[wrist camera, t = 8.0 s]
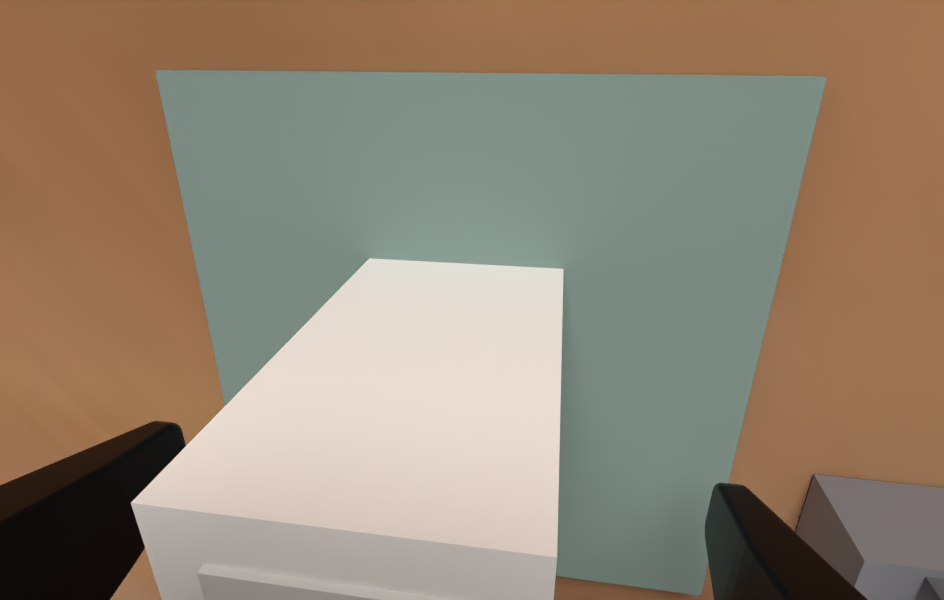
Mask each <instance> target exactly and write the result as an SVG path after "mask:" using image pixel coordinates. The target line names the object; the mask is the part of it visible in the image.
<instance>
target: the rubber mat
mask: <svg viewBox="0 0 944 600" xmlns="http://www.w3.org/2000/svg"><path fill="white" fill-rule="evenodd" d="M155 72H156V77H157V82H158V86H159V91H160V96H161V101H162V106H163V110H164V115H165V120H166V125H167V130H168V134H169V139H170V144H171V149H172V154H173V158H174V163H175V168H176V173H177V178H178V182H179V187H180V192H181V197H182V201H183V206H184V211H185V216H186V221H187V225H188V230H189V235H190V240H191V245H192V249H193V254H194V259H195V264H196V269H197V273H198V278H199V283H200V288H201V293H202V297H203V302H204V307H205V312H206V316H207V321H208V326H209V331H210V336H211V340H212V345H213V350H214V355H215V360H216V364H217V369H218V374H219V379H220V384H221V388H222V393H223V398H224V403H225V406H226V405H227V404H228V403H229V402H230V401H231V400H232V399H233V398H234V397H235V396H236V394H237V393H238V392H239V391H240V390H241V389H242V388H243V387H244V386H245V385H246V384H247V383H248V382H249V381H250V380H251V379H252V378H253V377H254V376H255V375H256V374H257V373H258V372H259V371H260V370H261V369H262V368H263V367H264V366H265V365H266V364H267V363H268V362H269V361H270V360H271V359H272V358H273V357H274V356H275V355H276V354H277V352H278V351H279V350H280V349H281V348H282V347H283V346H284V345H285V344H286V343H287V342H288V341H289V340H290V339H291V338H292V337H293V336H294V335H295V334H296V333H297V332H298V331H299V330H300V329H301V328H302V327H303V326H304V325H305V324H306V323H307V322H308V321H309V320H310V319H311V318H312V317H313V316H314V315H315V314H316V313H317V312H318V311H319V309H320V308H321V307H322V306H323V305H324V304H325V303H326V302H327V301H328V300H329V299H330V298H331V297H332V296H333V295H334V294H335V293H336V292H337V291H338V290H339V289H340V288H341V287H342V286H343V285H344V284H345V283H346V282H347V281H348V280H349V279H350V278H351V277H352V276H353V275H354V274H355V273H356V272H357V271H358V270H359V269H360V267H361V266H362V265H363V264H364V263H365V262H366V261H367V260H368V259H369V258H372V259H390V260H409V261H427V262H446V263H464V264H483V265H501V266H520V267H538V268H557V269H564V272H563V317H562V361H561V406H560V451H559V496H558V541H557V565H556V576H559V577H567V578H574V579H581V580H589V581H596V582H603V583H611V584H618V585H625V586H633V587H640V588H648V589H655V590H662V591H670V592H677V593H684V594H692V595H699V596H701V593H702V589H703V585H704V581H705V577H706V572H707V568H708V564H709V562H708V555H707V549H706V542H705V521H706V516H707V512H708V508H709V503H710V499H711V495H712V491H713V488H714V486H715V484H717V483H728V482H729V478H730V474H731V470H732V466H733V461H734V457H735V453H736V449H737V445H738V441H739V437H740V433H741V429H742V424H743V420H744V416H745V412H746V408H747V404H748V400H749V396H750V392H751V387H752V383H753V379H754V375H755V371H756V367H757V363H758V359H759V355H760V350H761V346H762V342H763V338H764V334H765V330H766V326H767V322H768V318H769V313H770V309H771V305H772V301H773V297H774V293H775V289H776V285H777V280H778V276H779V272H780V268H781V264H782V260H783V256H784V252H785V248H786V243H787V239H788V235H789V231H790V227H791V223H792V219H793V215H794V211H795V206H796V202H797V198H798V194H799V190H800V186H801V182H802V178H803V174H804V169H805V165H806V161H807V157H808V153H809V149H810V145H811V141H812V137H813V132H814V128H815V124H816V120H817V116H818V112H819V108H820V104H821V100H822V95H823V91H824V87H825V83H826V79H827V77H817V76H750V75H644V74H538V73H433V72H327V71H221V70H164V71H155Z"/></svg>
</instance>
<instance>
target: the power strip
mask: <svg viewBox="0 0 944 600" xmlns="http://www.w3.org/2000/svg"><path fill="white" fill-rule="evenodd" d="M796 533H797V534H798V535H799V536H800V537H801V538H802V539H803V540H804V541H805V542H806V543H807V544H809V545H810V546H811V547H812V548H813V549H814V550H815V551H816V552H817V553H818V554H819V555H820V556H822V557H823V558H824V559H825V560H826V561H827V562H828V563H829V564H830V565H831V566H832V567H833V568H834V569H836V570H837V571H838V572H839V573H840V574H841V575H842V576H843V577H844V578H845V579H846V580H847V581H848V582H850V583H851V584H852V585H853V586H854V587H855V588H856V589H857V590H858V591H859V592H860V593H861V594H863V595H864V596H865V597H866V598H867V599H868V600H944V488H941V487H931V486H921V485H912V484H902V483H892V482H883V481H873V480H863V479H854V478H844V477H834V476H825V475H815V474H814V476H813V479H812V482H811V485H810V488H809V491H808V495H807V498H806V501H805V504H804V507H803V510H802V513H801V516H800V520H799V523H798V526H797V529H796Z"/></svg>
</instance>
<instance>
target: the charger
mask: <svg viewBox="0 0 944 600" xmlns="http://www.w3.org/2000/svg"><path fill="white" fill-rule="evenodd" d="M563 272H564V269H557V268H538V267H520V266H501V265H483V264H464V263H446V262H427V261H409V260H390V259H372V258H369V259H368V260H367V261H366V262H365V263H364V264H363V265H362V266H361V267H360V269H359V270H358V271H357V272H356V273H355V274H354V275H353V276H352V277H351V278H350V279H349V280H348V281H347V282H346V283H345V284H344V285H343V286H342V287H341V288H340V289H339V290H338V291H337V292H336V293H335V294H334V295H333V296H332V297H331V298H330V299H329V300H328V301H327V302H326V303H325V304H324V305H323V306H322V307H321V308H320V309H319V311H318V312H317V313H316V314H315V315H314V316H313V317H312V318H311V319H310V320H309V321H308V322H307V323H306V324H305V325H304V326H303V327H302V328H301V329H300V330H299V331H298V332H297V333H296V334H295V335H294V336H293V337H292V338H291V339H290V340H289V341H288V342H287V343H286V344H285V345H284V346H283V347H282V348H281V349H280V350H279V351H278V352H277V354H276V355H275V356H274V357H273V358H272V359H271V360H270V361H269V362H268V363H267V364H266V365H265V366H264V367H263V368H262V369H261V370H260V371H259V372H258V373H257V374H256V375H255V376H254V377H253V378H252V379H251V380H250V381H249V382H248V383H247V384H246V385H245V386H244V387H243V388H242V389H241V390H240V391H239V392H238V393H237V394H236V396H235V397H234V398H233V399H232V400H231V401H230V402H229V403H228V404H227V405H226V406H225V407H224V408H223V409H222V410H221V411H220V412H219V413H218V414H217V415H216V416H215V417H214V418H213V419H212V420H211V421H210V422H209V423H208V424H207V425H206V426H205V427H204V428H203V429H202V430H201V431H200V432H199V433H198V434H197V435H196V436H195V438H194V439H193V440H192V441H191V442H190V443H189V444H188V445H187V446H186V447H185V448H184V449H183V450H182V451H181V452H180V453H179V454H178V455H177V456H176V457H175V458H174V459H173V460H172V461H171V462H170V463H169V464H168V465H167V466H166V467H165V468H164V469H163V470H162V471H161V472H160V473H159V474H158V475H157V476H156V477H155V478H154V480H153V481H152V482H151V483H150V484H149V485H148V486H147V487H146V488H145V489H144V490H143V491H142V492H141V493H140V494H139V495H138V496H137V497H136V498H135V499H134V500H133V501H132V502H131V506H132V509H133V512H134V515H135V518H136V521H137V524H138V527H139V530H140V533H141V537H142V540H143V543H144V546H145V549H146V552H147V555H148V558H149V561H150V564H151V568H152V571H153V574H154V577H155V580H156V583H157V586H158V589H159V592H160V595H161V599H162V600H554V589H555V577H556V565H557V541H558V496H559V451H560V406H561V361H562V317H563Z"/></svg>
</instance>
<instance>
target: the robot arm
mask: <svg viewBox="0 0 944 600" xmlns="http://www.w3.org/2000/svg"><path fill="white" fill-rule="evenodd" d="M185 447H186V445H185V441H184V437H183V433H182V430H181V428H180V426H179V425H178V424H176V423H171V422H162V421H154V422H151V423H148V424H146V425H143V426H141V427H139V428H136V429H134V430H131V431H129V432H127V433H124V434H122V435H119V436H117V437H115V438H112V439H110V440H107V441H105V442H103V443H100V444H98V445H96V446H93V447H91V448H88V449H86V450H84V451H81V452H79V453H76V454H74V455H72V456H69V457H67V458H64V459H62V460H60V461H57V462H55V463H53V464H50V465H48V466H45V467H43V468H41V469H38V470H36V471H33V472H31V473H29V474H26V475H24V476H21V477H19V478H17V479H14V480H12V481H10V482H7V483H5V484H2V485H0V600H110V599H111V597H112V596H113V594H114V593H115V591H116V590H117V589H118V587H119V586H120V584H121V583H122V581H123V580H124V578H125V577H126V576H127V574H128V573H129V571H130V570H131V568H132V567H133V565H134V564H135V562H136V561H137V559H138V558H139V556H140V555H141V553H142V552H143V550H144V548H145V546H144V543H143V540H142V537H141V533H140V530H139V527H138V524H137V521H136V518H135V515H134V512H133V509H132V506H131V502H132V501H133V500H134V499H135V498H136V497H137V496H138V495H139V494H140V493H141V492H142V491H143V490H144V489H145V488H146V487H147V486H148V485H149V484H150V483H151V482H152V481H153V480H154V478H155V477H156V476H157V475H158V474H159V473H160V472H161V471H162V470H163V469H164V468H165V467H166V466H167V465H168V464H169V463H170V462H171V461H172V460H173V459H174V458H175V457H176V456H177V455H178V454H179V453H180V452H181V451H182V450H183V449H184V448H185ZM705 542H706V549H707V555H708V562H709V568H710V575H711V582H712V588H713V595H714V600H868V599H867V598H866V597H865V596H864V595H863V594H861V593H860V592H859V591H858V590H857V589H856V588H855V587H854V586H853V585H852V584H851V583H850V582H848V581H847V580H846V579H845V578H844V577H843V576H842V575H841V574H840V573H839V572H838V571H837V570H836V569H834V568H833V567H832V566H831V565H830V564H829V563H828V562H827V561H826V560H825V559H824V558H823V557H822V556H820V555H819V554H818V553H817V552H816V551H815V550H814V549H813V548H812V547H811V546H810V545H809V544H807V543H806V542H805V541H804V540H803V539H802V538H801V537H800V536H799V535H798V534H797V533H796V532H795V531H793V530H792V529H791V528H790V527H789V526H788V525H787V524H786V523H785V522H784V521H783V520H782V519H780V518H779V517H778V516H777V515H776V514H775V513H774V512H773V511H772V510H771V509H770V508H769V507H768V506H766V505H765V504H764V503H763V502H762V501H761V500H760V499H759V498H758V497H757V496H756V495H755V494H753V493H752V492H751V491H750V490H749V489H748V488H747V487H745V486H743V485H739V484H730V483H717V484H715V486H714V488H713V491H712V495H711V499H710V503H709V508H708V512H707V516H706V521H705Z"/></svg>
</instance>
